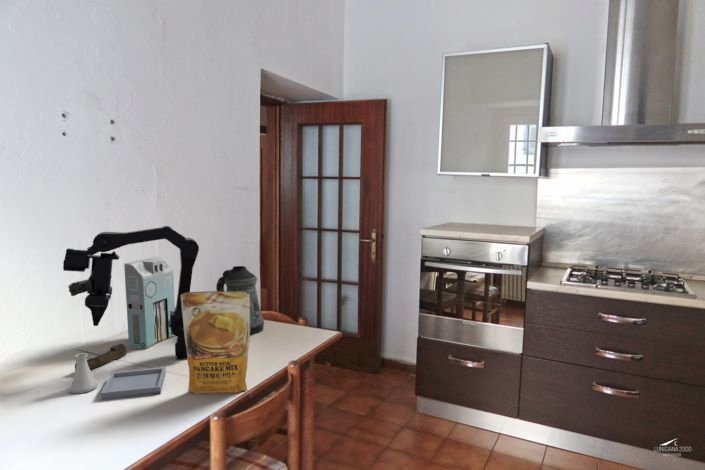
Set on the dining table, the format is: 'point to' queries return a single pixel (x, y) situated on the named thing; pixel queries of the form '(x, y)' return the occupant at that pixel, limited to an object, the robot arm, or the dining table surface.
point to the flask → (82, 376)
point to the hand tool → (107, 356)
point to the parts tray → (134, 383)
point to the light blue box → (149, 301)
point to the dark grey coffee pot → (246, 282)
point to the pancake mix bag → (217, 340)
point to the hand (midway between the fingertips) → (97, 321)
